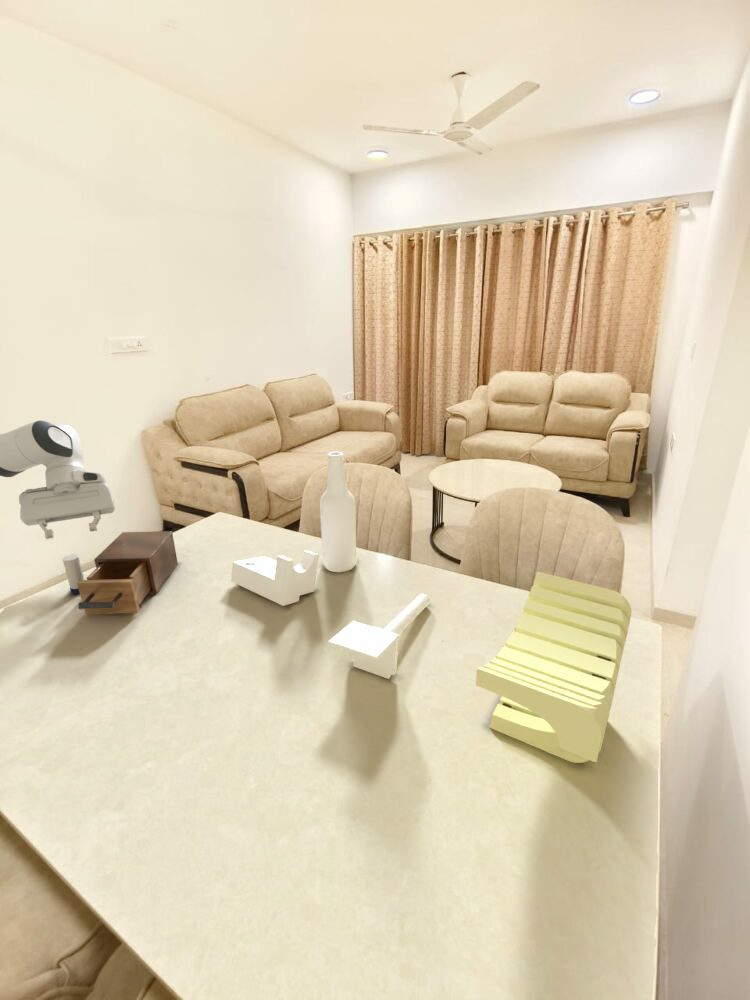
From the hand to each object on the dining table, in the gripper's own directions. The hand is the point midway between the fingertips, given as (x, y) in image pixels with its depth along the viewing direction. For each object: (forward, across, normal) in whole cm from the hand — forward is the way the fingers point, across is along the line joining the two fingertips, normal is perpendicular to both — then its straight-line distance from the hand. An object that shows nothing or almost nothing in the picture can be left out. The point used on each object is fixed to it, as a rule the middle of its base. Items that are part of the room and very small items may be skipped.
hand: (71, 534), depth 122 cm
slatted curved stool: (+69, +74, -53) cm, 114 cm away
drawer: (+21, +9, -6) cm, 24 cm away
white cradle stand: (+27, +43, -10) cm, 52 cm away
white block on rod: (+49, +59, -33) cm, 84 cm away
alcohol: (+25, +61, -8) cm, 66 cm away
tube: (+14, 0, +2) cm, 14 cm away
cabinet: (+14, +14, +2) cm, 20 cm away
